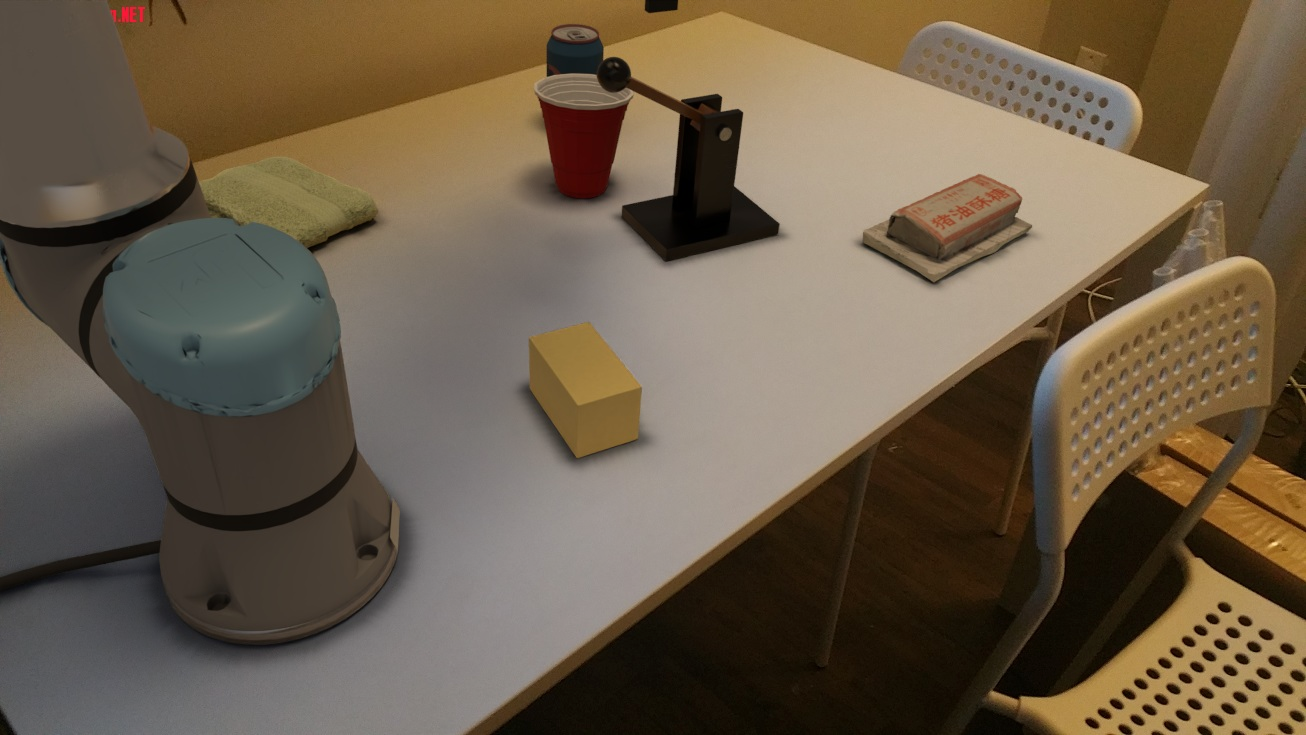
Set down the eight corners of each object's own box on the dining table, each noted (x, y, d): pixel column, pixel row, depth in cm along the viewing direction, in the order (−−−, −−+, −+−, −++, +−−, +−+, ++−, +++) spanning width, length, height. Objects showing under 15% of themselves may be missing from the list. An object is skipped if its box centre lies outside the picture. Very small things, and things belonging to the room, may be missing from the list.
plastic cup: (634, 169, 117) (639, 71, 110) (623, 213, 108) (628, 110, 101) (543, 160, 117) (543, 61, 110) (525, 203, 109) (523, 100, 101)
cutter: (665, 261, 101) (676, 136, 93) (621, 216, 108) (627, 96, 99) (778, 234, 107) (797, 115, 98) (729, 193, 114) (743, 78, 105)
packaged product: (967, 161, 113) (1043, 196, 108) (956, 198, 116) (1030, 234, 111) (867, 204, 103) (945, 245, 98) (858, 243, 106) (933, 285, 101)
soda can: (538, 118, 126) (537, 25, 119) (587, 111, 129) (589, 19, 122) (560, 141, 122) (560, 45, 114) (610, 132, 124) (614, 38, 117)
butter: (576, 458, 77) (577, 405, 74) (529, 388, 84) (528, 336, 80) (638, 439, 80) (642, 386, 76) (587, 372, 86) (589, 321, 83)
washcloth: (280, 166, 112) (275, 140, 110) (387, 219, 104) (384, 192, 102) (176, 208, 103) (168, 181, 101) (284, 269, 96) (279, 240, 94)
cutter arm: (600, 90, 90) (617, 58, 89) (585, 77, 92) (601, 46, 91) (719, 147, 100) (736, 119, 99) (703, 134, 103) (719, 107, 102)
